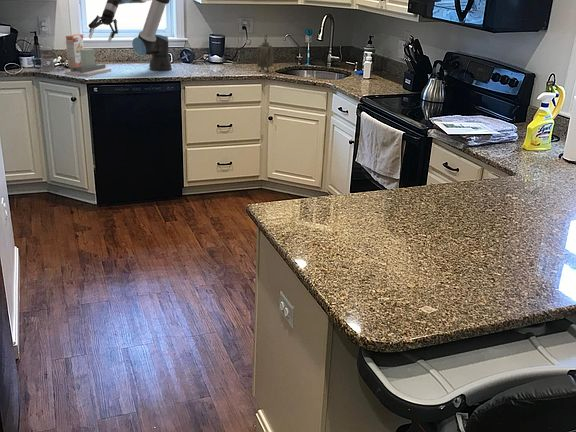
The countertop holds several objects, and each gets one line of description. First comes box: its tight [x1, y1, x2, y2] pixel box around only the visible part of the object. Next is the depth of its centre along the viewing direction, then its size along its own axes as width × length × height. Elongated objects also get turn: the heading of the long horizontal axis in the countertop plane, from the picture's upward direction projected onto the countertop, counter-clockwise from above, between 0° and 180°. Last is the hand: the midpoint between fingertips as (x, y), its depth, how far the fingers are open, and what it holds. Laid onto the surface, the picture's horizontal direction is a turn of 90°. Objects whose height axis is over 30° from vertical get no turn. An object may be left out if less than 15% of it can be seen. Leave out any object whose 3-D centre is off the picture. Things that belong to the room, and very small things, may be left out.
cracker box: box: [65, 33, 85, 69], centre depth 423 cm, size 14×6×21 cm, turn 171°
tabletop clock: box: [256, 34, 275, 73], centre depth 435 cm, size 14×9×25 cm, turn 170°
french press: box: [39, 30, 59, 72], centre depth 404 cm, size 10×12×25 cm
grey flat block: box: [64, 62, 112, 77], centre depth 408 cm, size 18×24×4 cm
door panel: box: [80, 48, 96, 68], centre depth 406 cm, size 4×9×13 cm, turn 159°
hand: (99, 39), depth 413 cm, fingers open, 13 cm apart
